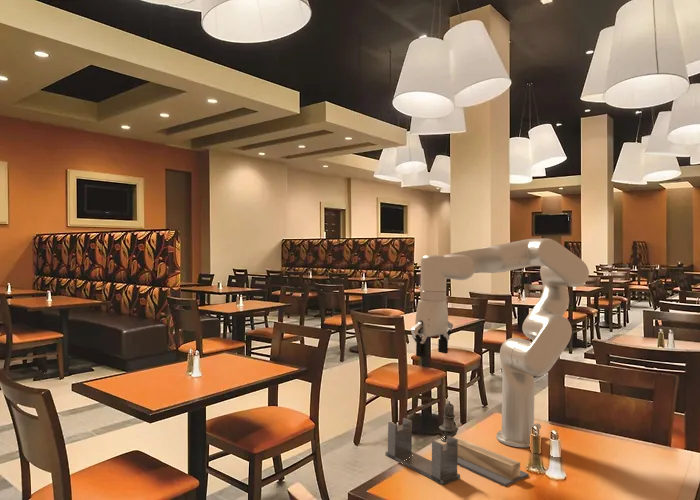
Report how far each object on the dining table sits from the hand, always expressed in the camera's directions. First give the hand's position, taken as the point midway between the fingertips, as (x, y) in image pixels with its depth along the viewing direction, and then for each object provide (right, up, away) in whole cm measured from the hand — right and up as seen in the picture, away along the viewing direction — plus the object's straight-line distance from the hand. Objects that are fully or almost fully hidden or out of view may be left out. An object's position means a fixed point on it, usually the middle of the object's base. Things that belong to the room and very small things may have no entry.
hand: (432, 354), depth 148 cm
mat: (+12, -28, -11) cm, 32 cm away
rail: (+12, -28, -11) cm, 32 cm away
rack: (-5, -28, -12) cm, 31 cm away
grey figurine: (+6, -28, +8) cm, 30 cm away
